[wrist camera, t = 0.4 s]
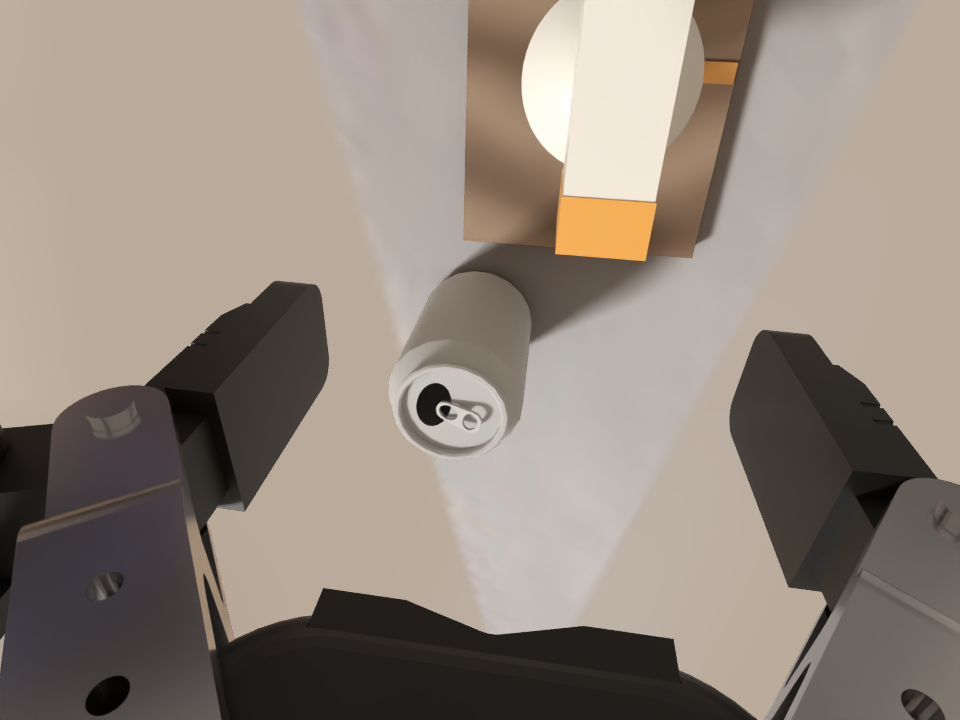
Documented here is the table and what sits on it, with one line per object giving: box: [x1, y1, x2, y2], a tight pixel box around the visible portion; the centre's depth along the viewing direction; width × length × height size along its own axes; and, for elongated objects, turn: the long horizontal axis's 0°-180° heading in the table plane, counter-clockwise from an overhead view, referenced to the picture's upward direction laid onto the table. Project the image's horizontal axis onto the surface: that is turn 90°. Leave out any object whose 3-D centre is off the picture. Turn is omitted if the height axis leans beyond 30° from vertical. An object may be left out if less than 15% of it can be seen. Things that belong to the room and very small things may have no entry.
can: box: [389, 271, 532, 460], centre depth 35 cm, size 8×8×12 cm
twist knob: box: [522, 0, 704, 261], centre depth 21 cm, size 10×7×8 cm
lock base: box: [464, 0, 754, 258], centre depth 28 cm, size 20×14×8 cm
